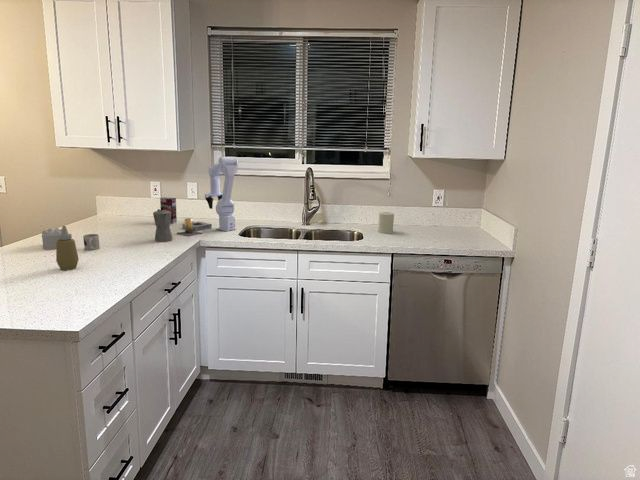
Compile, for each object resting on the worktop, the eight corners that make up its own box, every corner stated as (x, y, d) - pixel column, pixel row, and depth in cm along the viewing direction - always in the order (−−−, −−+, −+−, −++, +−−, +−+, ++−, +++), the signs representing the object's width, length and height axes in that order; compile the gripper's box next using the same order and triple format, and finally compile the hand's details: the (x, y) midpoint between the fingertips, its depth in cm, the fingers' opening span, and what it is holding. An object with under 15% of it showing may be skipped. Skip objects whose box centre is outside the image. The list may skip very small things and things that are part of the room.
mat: (202, 233, 257) (202, 232, 257) (187, 236, 249) (187, 235, 249) (191, 230, 263) (191, 230, 263) (176, 233, 255) (176, 232, 255)
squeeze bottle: (74, 264, 191) (70, 223, 187) (82, 268, 186) (78, 226, 182) (53, 268, 185) (49, 225, 181) (62, 272, 180) (57, 228, 176)
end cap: (194, 232, 256) (194, 219, 254) (187, 233, 253) (186, 219, 251) (191, 231, 259) (190, 217, 257) (183, 232, 256) (183, 218, 255)
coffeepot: (176, 241, 236) (174, 207, 232) (157, 243, 231) (155, 209, 227) (168, 236, 249) (166, 203, 244) (150, 237, 243) (148, 204, 239)
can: (392, 230, 278) (393, 211, 276) (393, 233, 269) (394, 214, 267) (377, 230, 279) (378, 211, 276) (378, 233, 270) (379, 213, 268)
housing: (211, 228, 272) (211, 224, 271) (195, 231, 263) (195, 226, 262) (199, 225, 279) (199, 221, 278) (182, 228, 270) (182, 224, 269)
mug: (85, 247, 220) (84, 234, 218) (100, 246, 222) (99, 233, 221) (82, 252, 211) (81, 238, 209) (98, 251, 213) (97, 238, 211)
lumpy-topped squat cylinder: (43, 250, 212) (41, 232, 210) (42, 244, 223) (40, 227, 221) (68, 248, 218) (66, 230, 216) (66, 242, 228) (64, 226, 226)
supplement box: (161, 222, 284) (159, 198, 280) (165, 221, 288) (164, 197, 285) (172, 224, 281) (171, 198, 278) (177, 222, 286) (176, 197, 282)
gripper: (220, 184, 287) (220, 205, 290) (201, 186, 276) (202, 208, 279) (227, 185, 283) (227, 207, 286) (208, 187, 271) (209, 209, 274)
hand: (215, 207), depth 282 cm, fingers open, 7 cm apart
